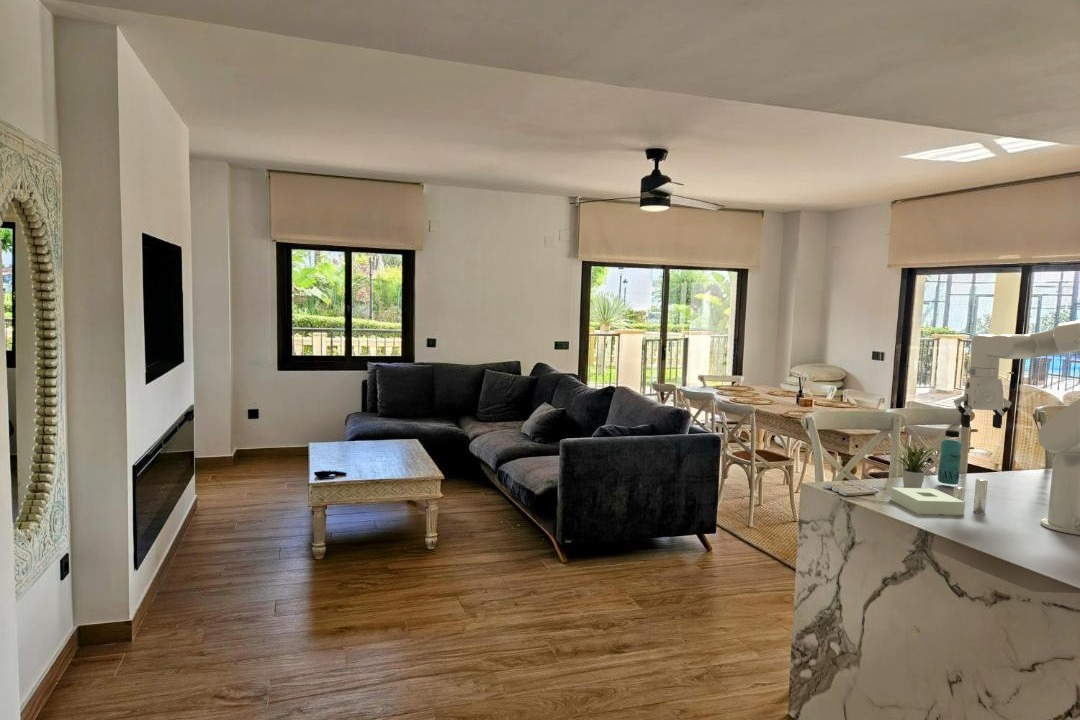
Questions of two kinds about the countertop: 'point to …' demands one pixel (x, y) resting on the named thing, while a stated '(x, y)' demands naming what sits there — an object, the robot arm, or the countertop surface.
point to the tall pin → (980, 495)
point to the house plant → (914, 467)
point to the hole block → (927, 501)
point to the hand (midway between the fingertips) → (981, 427)
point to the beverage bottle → (950, 459)
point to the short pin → (959, 493)
